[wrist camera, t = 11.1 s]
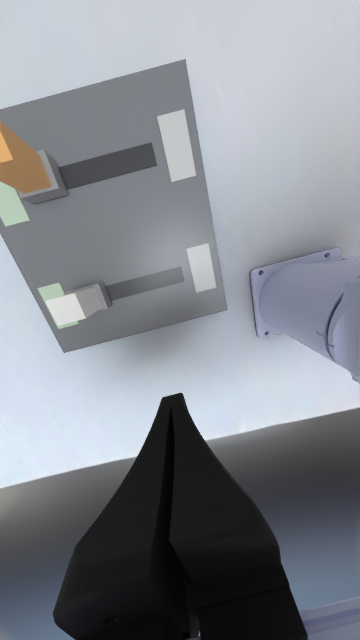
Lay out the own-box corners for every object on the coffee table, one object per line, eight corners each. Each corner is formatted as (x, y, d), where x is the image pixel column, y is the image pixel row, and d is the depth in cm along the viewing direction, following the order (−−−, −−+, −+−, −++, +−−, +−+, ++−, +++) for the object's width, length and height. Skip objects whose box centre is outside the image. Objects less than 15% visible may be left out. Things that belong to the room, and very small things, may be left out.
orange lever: (54, 159, 12) (-2, 106, 8) (68, 194, 13) (22, 162, 9) (17, 169, 12) (-58, 122, 8) (33, 204, 13) (-29, 176, 9)
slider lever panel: (182, 88, 13) (185, 57, 11) (221, 305, 19) (227, 310, 17) (-26, 144, 14) (-60, 124, 12) (74, 344, 19) (63, 353, 17)
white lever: (103, 282, 15) (79, 288, 11) (112, 305, 16) (92, 319, 12) (72, 290, 15) (37, 299, 11) (83, 312, 16) (53, 330, 12)
